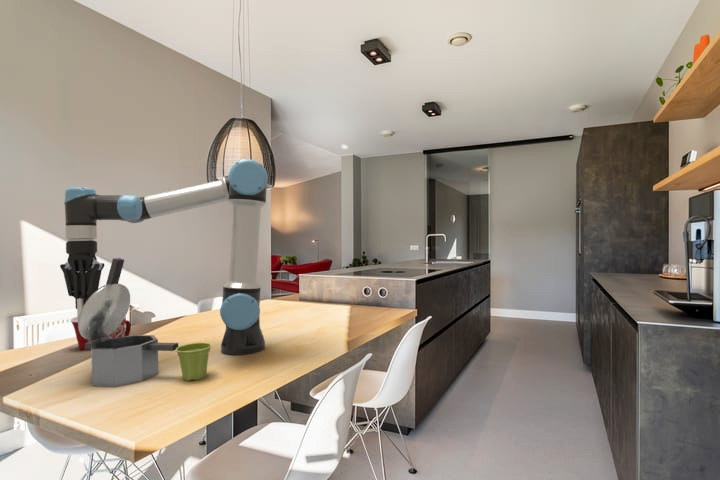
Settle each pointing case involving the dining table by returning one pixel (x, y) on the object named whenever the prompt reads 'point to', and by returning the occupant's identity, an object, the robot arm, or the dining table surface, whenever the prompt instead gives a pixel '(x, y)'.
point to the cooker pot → (126, 359)
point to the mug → (121, 330)
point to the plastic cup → (79, 335)
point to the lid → (105, 307)
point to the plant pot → (193, 360)
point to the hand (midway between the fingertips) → (83, 319)
